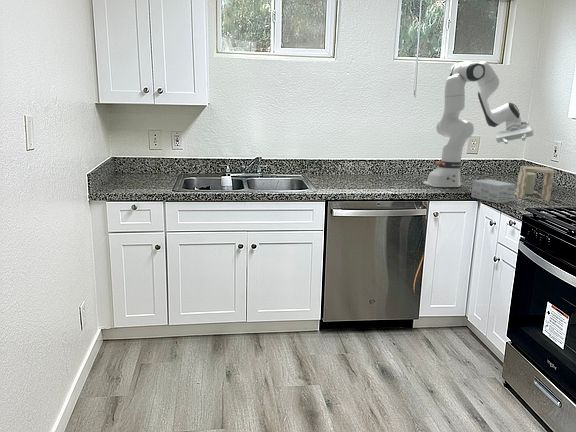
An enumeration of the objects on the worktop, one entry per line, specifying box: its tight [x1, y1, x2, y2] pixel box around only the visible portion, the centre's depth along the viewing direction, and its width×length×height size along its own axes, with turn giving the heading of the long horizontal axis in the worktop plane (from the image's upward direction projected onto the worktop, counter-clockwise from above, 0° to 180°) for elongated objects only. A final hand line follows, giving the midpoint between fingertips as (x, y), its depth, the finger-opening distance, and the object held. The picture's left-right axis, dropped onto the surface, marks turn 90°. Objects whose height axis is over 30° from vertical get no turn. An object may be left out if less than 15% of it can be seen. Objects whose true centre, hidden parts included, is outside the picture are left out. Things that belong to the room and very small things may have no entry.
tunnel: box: [514, 165, 555, 202], centre depth 278 cm, size 24×14×16 cm, turn 171°
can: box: [515, 171, 537, 195], centre depth 286 cm, size 9×9×12 cm
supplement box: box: [471, 178, 517, 204], centre depth 267 cm, size 17×13×9 cm
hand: (514, 141), depth 296 cm, fingers open, 8 cm apart
